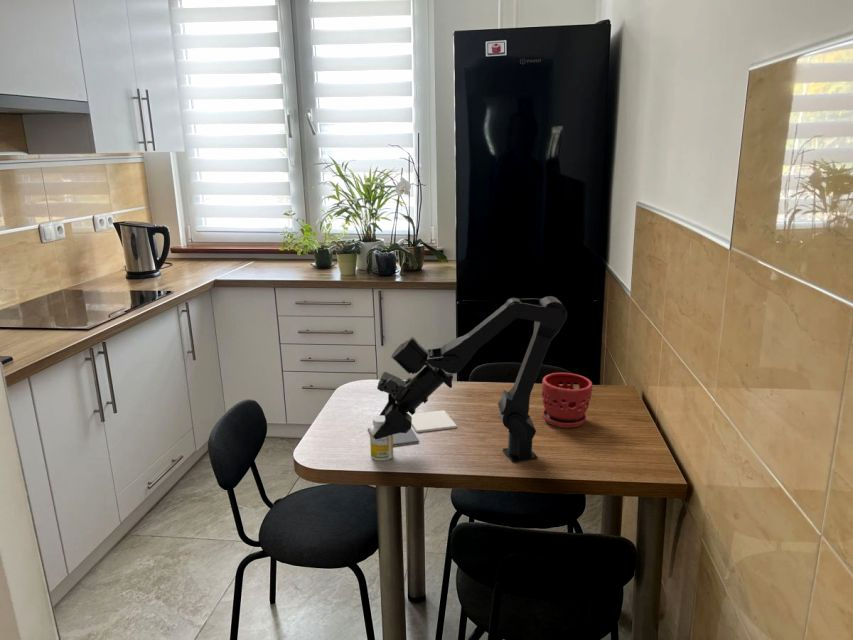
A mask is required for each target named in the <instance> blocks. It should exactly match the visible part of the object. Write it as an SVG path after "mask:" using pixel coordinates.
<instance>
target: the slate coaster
mask: <svg viewBox="0 0 853 640" xmlns="http://www.w3.org/2000/svg"><path fill="white" fill-rule="evenodd" d="M370 429H371V427H368V428H367V432H368V434H369V435H370ZM411 443H412V445H413V444H419V443H420V440H419V438H418V437H417V435H416V434H415V431H414V430H413V429H412V428H411V429H410V430H409V431H408V432H407V433H397V434H393V447H397V446H403V445H404V444H405V445H411Z"/></svg>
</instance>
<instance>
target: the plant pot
mask: <svg viewBox="0 0 853 640" xmlns="http://www.w3.org/2000/svg"><path fill="white" fill-rule="evenodd" d="M560 382H562V385H560ZM568 383H570V384H568ZM574 384H578V387H579V388H578V389H577V388H574ZM592 393H593V382H592V381H591V380H590V379H589V378H587V377H585V376H583V375H580V374H576V373H571V372H553V373H549V374H547V375H545V376H544V377H543V378H542V382H541V400H542V404H543V407H544V408H543V409H544V410H542V418H543V419H544V420H545V421H546V422H547V423H548V424H550V425H552V426H554V427H555V426H556V427H559V428H576V427H579V426H582V425H583V424H584V423H585V422H586V420H587V415H586V413H587V411H588V408H589V406H590V402H591V399H592Z"/></svg>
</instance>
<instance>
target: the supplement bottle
mask: <svg viewBox="0 0 853 640" xmlns="http://www.w3.org/2000/svg"><path fill="white" fill-rule="evenodd" d="M384 421H385V416H379V415H376V416H374V417H373V418H372V425H371V427H370V428H371V429H370V434H369V436H370V437H369V438H370V440H369V441H370V443H369V444H370V457H371V458H372V459H373V460H375V461H387V460H388V461H389V460H390V459H392V457H393V456H394V446H393V435H390V436H386V437H383V438H380V439H377V440H376V439H375V438H374V437H373V436H374V434H375V433H376V431H377V430H378V429H379V427H380V426H381V425H382V423H383V422H384Z"/></svg>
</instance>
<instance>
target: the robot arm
mask: <svg viewBox="0 0 853 640" xmlns="http://www.w3.org/2000/svg"><path fill="white" fill-rule="evenodd" d="M567 317H568V311H567V308H566V306H565V305H564V304H563V303H562V302H561V301H560V300H559V299H558V298H557V297H555V296H551V295H549V296H545V297H543V298H517V297H511V298H509V299H507V300H506V302H505V303H504V304H503V305H501V306H500V307H499V308H497V309H496V310H495V311H494V312H493V313H491V314H490V315H489V316H488V317H487V318H485V319H484V320H483V321H482V322H480V323H479V324H478V325H476V326H475V327H474V328H473V329H471V330H470V331H469V332H467V333H466V334H464V335H462V336H459V337H456V338H454V339H452V340H451V341H449V342H447V343H445V344H443V345H442V347H434V348H428V349H425V348H424V347H423V346H422V345H421V344H420V343H419V342H418V340H417V339H415V337H414V336H411V337H410V338H409V339H406V340H405V341H404V342H402V343H400V345H398V347H396V349H395V350H394V351H393V353H392V354H391V356H390V357H391V358H392V360H393V361H395V363H397V364H398V365H399V366H400V367H401V368H402V369H403V370H404V372H406V373H407V374H409V375H410V374H411V375H414V374H416V375H414V377H408V378H407V379H406V380H404V379H401V378H400V377H398V376H396V375H394V374H391V373H389V372H387V371H383V373H382V374H381V375H380V376H381V377H380V379H379V380H378V383H377V387H376V389H377V390H378V391H380V392H383V393H386V394H388V395H387V397H388V399H387V402H386V404H385V405H384V407H383V409H382V410H381V412H380V414H379V415H378V416H385V421H384V422H383V423H382V425H381V426H380V427H379V429H378V430H377V431H376V433H375V434H374V436H373V437H374V438H375V439H376V440H377V439H380V438H383V437H386V436H390V435H393V434H397V433H407V432H408V431H409V430H410V429H412V428H413V426H412V417H411V416H410V415H409V414H411V415H413V414H416V410H417V409H418V408H419V406H421V405H422V404H427V402H428V401H429V397H430V396H431V395H432V394H434V392H436V390H438V389H439V388H440V387H441V386H442V385H443V384H445V385H446V386H447V387H448V388H450V389H451V388H453V378H454V374H458V373H460V372H461V371H462V370H463V369H464V368H465V367H466V366H467V364H469V362H470V361H471V360H472V358H473V356H474V355H475V353H477V351H478V350H479V349H480V348H482V347H483V346H484V345H485V344H487V343H488V342H489V341H491V340H492V339H493V338H494V337H495V336H497V335H498V334H500V332H502V331H504V329H505V328H506V327H508V326H509V325H511V324H512V323H513V322H515V321H516V320H517V319H521V320H522V319H523V320H527V321H532V322H534V323H533V333H532V336H531V338H530V341H529V344H528V346H527V349H526V352H525V354H524V357H523V360H522V363H521V365H520V368H519V370H518V373H517V376H516V379H515V381H514V383H513V386H512V387H511V389H510V390H508V391H507V390H505V389H503V390H502V393H501V397H500V400H499V402H497V406H498V411H499V414H500V418H501V422H502V424H503V426H504V427H505V428H506V429H508V441H507V443H508V445H507V447H506V448H505V447H504V448H503V449H502V452H503V453H504V454H505V455H506V456H507V458H509V460H510V461H511V462H514V463H515V462H522V461H529V460H530V461H531V460H536V459H538V455H537V454H536V453H535V452H534V451H533V439H534V437H535V435H536V433H537V430H536V428H535V424H534V422H533V421H532V417H531V416H530V415H529V412H530V411H529V410H530V401H531V398H530V397H531V393H532V392H533V391H532V390H533V389H534V386H535V383H536V381H537V379H538V376H539V373H540V370H541V367H542V366H543V362H544V359H545V357H546V354H547V352H548V349H549V347H550V344H551V341H552V340H553V339H554V338H555V336H556V335H557V334H558V333H559V332H560V330H561V328H562V327H563V326H564V323H565V322H566V320H567Z"/></svg>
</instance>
